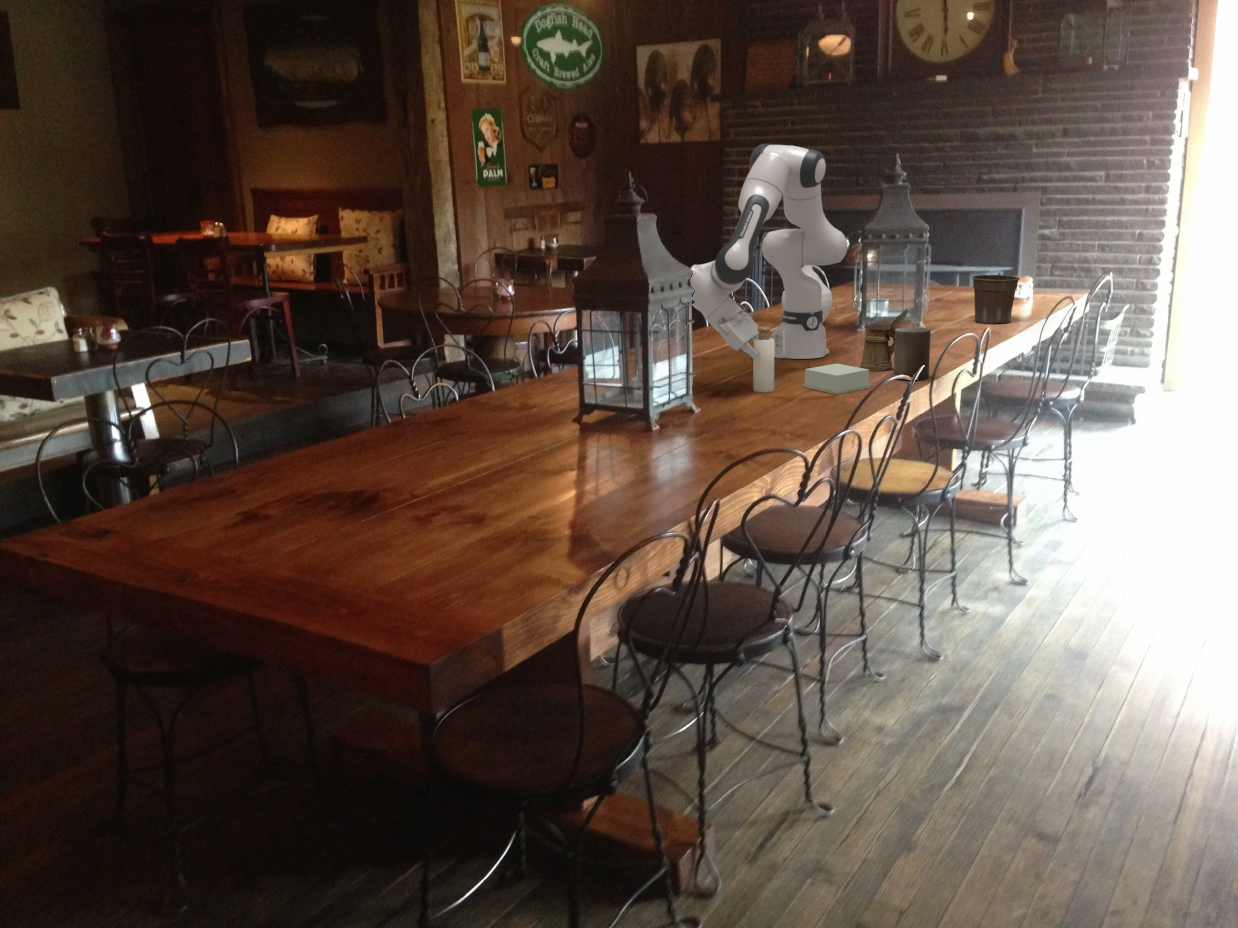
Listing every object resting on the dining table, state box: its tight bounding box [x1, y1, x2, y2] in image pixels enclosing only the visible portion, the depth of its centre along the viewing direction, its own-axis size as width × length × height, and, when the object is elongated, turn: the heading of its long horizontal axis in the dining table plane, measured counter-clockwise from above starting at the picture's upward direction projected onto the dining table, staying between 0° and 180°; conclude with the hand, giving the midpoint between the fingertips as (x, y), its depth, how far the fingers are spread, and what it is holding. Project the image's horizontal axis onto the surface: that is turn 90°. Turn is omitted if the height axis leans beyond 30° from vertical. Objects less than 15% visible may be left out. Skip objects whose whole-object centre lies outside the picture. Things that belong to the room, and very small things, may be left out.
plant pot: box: [971, 274, 1021, 325], centre depth 403 cm, size 16×16×16 cm
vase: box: [781, 265, 833, 324], centre depth 406 cm, size 18×18×30 cm
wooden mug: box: [859, 308, 909, 372], centre depth 326 cm, size 9×14×18 cm, turn 54°
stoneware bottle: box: [752, 326, 775, 393], centre depth 303 cm, size 6×6×17 cm
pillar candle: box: [893, 324, 931, 381], centre depth 314 cm, size 10×10×15 cm
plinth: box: [802, 362, 871, 395], centre depth 305 cm, size 13×13×5 cm
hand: (761, 353), depth 303 cm, fingers open, 8 cm apart
